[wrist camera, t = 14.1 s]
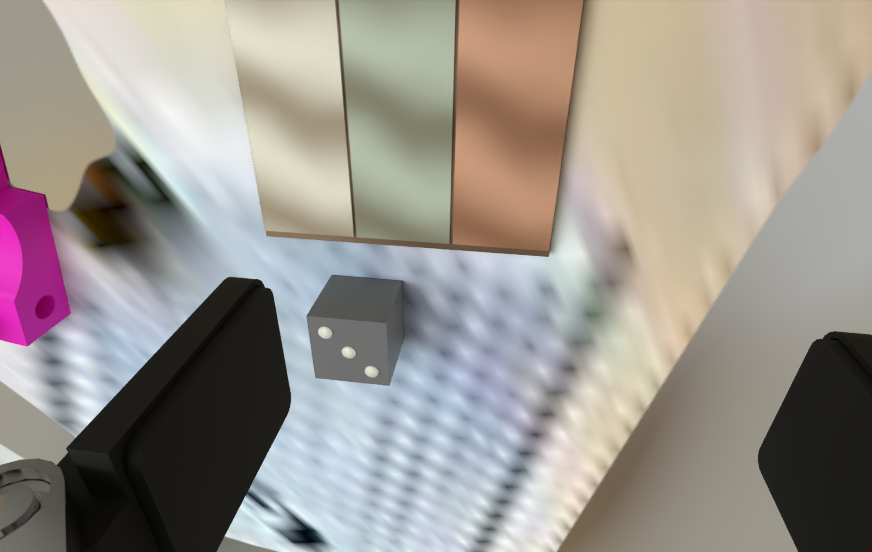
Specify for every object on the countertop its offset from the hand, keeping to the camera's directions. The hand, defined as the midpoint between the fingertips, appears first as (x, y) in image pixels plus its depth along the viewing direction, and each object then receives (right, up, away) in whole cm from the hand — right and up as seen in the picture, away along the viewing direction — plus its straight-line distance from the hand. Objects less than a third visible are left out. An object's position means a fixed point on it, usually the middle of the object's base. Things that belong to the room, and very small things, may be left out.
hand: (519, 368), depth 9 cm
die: (-6, -1, +28) cm, 28 cm away
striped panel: (-3, +11, +20) cm, 23 cm away
